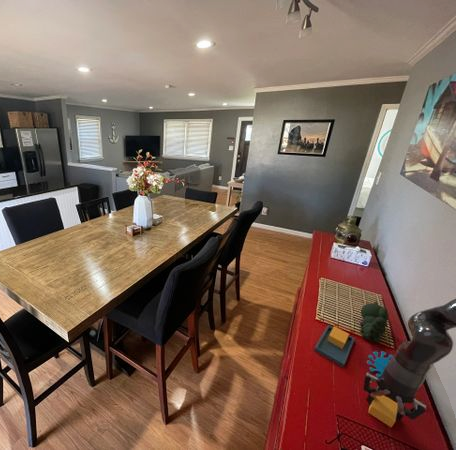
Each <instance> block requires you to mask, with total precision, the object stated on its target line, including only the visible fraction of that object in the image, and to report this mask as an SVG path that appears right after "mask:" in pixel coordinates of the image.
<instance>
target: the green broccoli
mask: <svg viewBox="0 0 456 450" xmlns="http://www.w3.org/2000/svg"><path fill="white" fill-rule="evenodd" d="M360 315H361V317H362V318H363V319H362V321H360V322H359V325H360V327H361V328H360V329H359V332H360V335H361V338H362V339H370V340H372V342H373V343H374V344H379V343H380V341H381V340H380V339H381V338H382V337H384V332H386V331H387V329H386V327H388V321H389V312H388V309H387V308H386V307H384V306H382V305H380V304H379V303H378V301H374V302H373V303H366V304H364V305H363V306H362V307H361V309H360ZM362 333H363V334H362Z"/></svg>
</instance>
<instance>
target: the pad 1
mask: <svg viewBox="0 0 456 450" xmlns="http://www.w3.org/2000/svg"><path fill="white" fill-rule="evenodd" d="M332 327H333V329H332V331H331V333H330V335H329V337H328V340H327V341H329V342H330V343H332V344H334V345H336V346H338V347H340V348H341V349H343V347H344V345H345V343H346V340H347V338H348V336H350V333H348V332H346V331H344V330H342V329H340V328H339V327H337V326H332Z"/></svg>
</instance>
